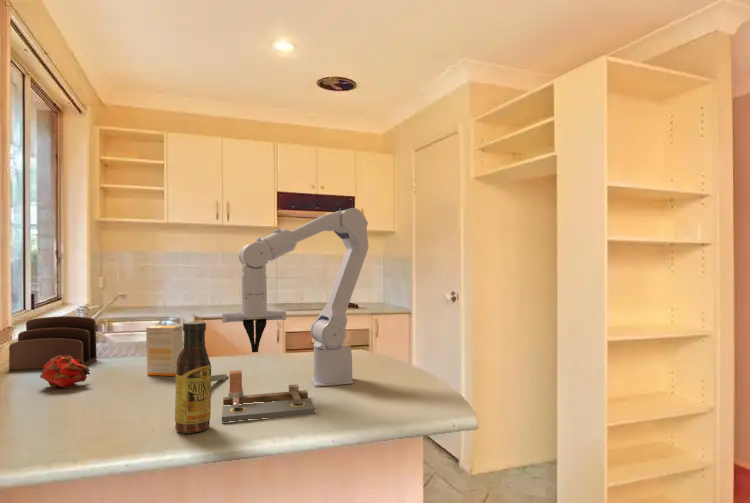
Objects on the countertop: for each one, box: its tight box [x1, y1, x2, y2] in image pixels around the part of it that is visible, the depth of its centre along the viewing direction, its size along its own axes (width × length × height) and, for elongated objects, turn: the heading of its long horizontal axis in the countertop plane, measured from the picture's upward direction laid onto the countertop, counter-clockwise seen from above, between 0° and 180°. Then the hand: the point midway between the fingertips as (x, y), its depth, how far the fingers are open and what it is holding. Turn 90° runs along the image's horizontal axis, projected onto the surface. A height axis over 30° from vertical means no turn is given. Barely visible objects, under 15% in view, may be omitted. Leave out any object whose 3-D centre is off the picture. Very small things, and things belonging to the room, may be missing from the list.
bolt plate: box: [221, 397, 316, 423], centre depth 101 cm, size 18×7×1 cm, turn 106°
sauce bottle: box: [174, 321, 212, 434], centre depth 93 cm, size 7×6×20 cm
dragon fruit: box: [39, 355, 91, 389], centre depth 123 cm, size 8×8×12 cm
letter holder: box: [8, 315, 98, 371], centre depth 148 cm, size 10×20×14 cm, turn 98°
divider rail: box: [222, 383, 309, 405], centre depth 105 cm, size 18×10×3 cm, turn 106°
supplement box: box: [145, 324, 184, 377], centre depth 135 cm, size 8×5×13 cm, turn 80°
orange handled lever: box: [228, 369, 244, 409], centre depth 104 cm, size 3×10×6 cm, turn 15°
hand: (255, 351), depth 117 cm, fingers closed
